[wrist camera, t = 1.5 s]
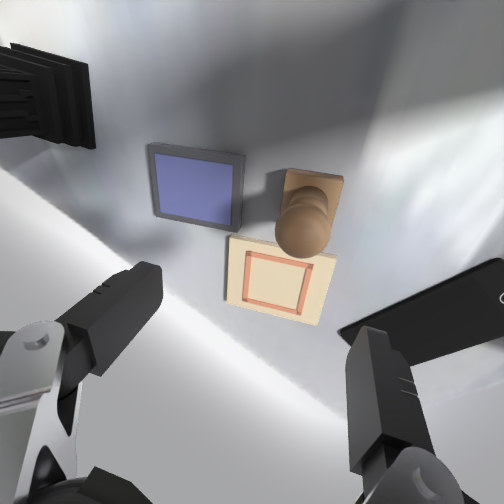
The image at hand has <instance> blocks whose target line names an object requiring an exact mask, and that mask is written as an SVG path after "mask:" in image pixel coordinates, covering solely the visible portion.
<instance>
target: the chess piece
mask: <svg viewBox="0 0 504 504" xmlns="http://www.w3.org/2000/svg"><path fill="white" fill-rule="evenodd" d="M10 45H11V48H7V47H2V46H0V139H2V138H11V137H20V136H29V135H32V136H35V137H38V138H41V139H44V140H47V141H50V142H53V143H57V144H60V143H65V144H68V145H71V146H74V147H77V146H81V147H85V148H88V149H95V148H96V143H95V133H94V122H93V112H92V101H91V91H90V80H89V70H88V64H86V63H83V62H79V61H76V60H72V59H69V58H65V57H62V56H58V55H55V54H51V53H48V52H44V51H41V50H37V49H34V48H30V47H27V46H23V45H20V44H15V43H10Z"/></svg>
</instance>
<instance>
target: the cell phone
mask: <svg viewBox="0 0 504 504" xmlns="http://www.w3.org/2000/svg"><path fill="white" fill-rule="evenodd" d="M363 326H367V327H371V328H374V329H378V330H381V331H385V332H386V333H387V334H388V337H389V341H390V346H391V349H393V350H396V351H400V353H401V354H402V356H403V357H404V359H405V360H406V362H407V363H408V364H409V366H410V367H411V366H414V365H417V364H420V363H423V362H426V361H429V360H432V359H435V358H438V357H441V356H444V355H448V354H451V353H454V352H457V351H460V350H463V349H466V348H469V347H472V346H475V345H478V344H482V343H485V342H488V341H491V340H494V339H497V338H500V337H503V336H504V260H503V259H501V258H495V259H492V260H490V261H488V262H486V263H484V264H482V265H479V266H477V267H475V268H473V269H471V270H469V271H467V272H464V273H462V274H460V275H458V276H456V277H454V278H451V279H449V280H447V281H445V282H443V283H441V284H438V285H436V286H434V287H432V288H430V289H428V290H425V291H423V292H421V293H419V294H417V295H415V296H412V297H410V298H408V299H406V300H404V301H402V302H400V303H397V304H395V305H393V306H391V307H389V308H387V309H384V310H382V311H380V312H378V313H376V314H374V315H371V316H369V317H367V318H365V319H363V320H361V321H358V322H356V323H354V324H352V325H350V326H348V327H346V328H343V329H342V330H341V336H342V337H343V338H344V339H345V340H346V341H347V342H348V343H349V344H350V345H351V346H352V345H353V343H354V341H355V339H356V337H357V335H358V333H359V331H360V329H361V328H362V327H363Z"/></svg>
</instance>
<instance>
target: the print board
mask: <svg viewBox="0 0 504 504" xmlns="http://www.w3.org/2000/svg"><path fill="white" fill-rule="evenodd" d="M336 260H337V256H336V255H331V254H326V253H321V252H320V253H319V254H318V255H316V256H314V257H311V258H306V259H299V258H294V257H291V256H289V255H288V254H286V253H285V252H284V251H283V250H282V249H281V248H280V247H279V245H278V244H277V243H272V242H267V241H262V240H257V239H252V238H247V237H242V236H237V235H231V236H230V240H229V263H228V286H227V303H228V304H232V305H236V306H239V307H243V308H247V309H251V310H255V311H259V312H263V313H267V314H271V315H275V316H279V317H283V318H287V319H291V320H295V321H299V322H303V323H307V324H311V325H315V326H317V324H318V321H319V317H320V314H321V311H322V307H323V304H324V301H325V297H326V294H327V291H328V287H329V284H330V280H331V277H332V274H333V270H334V267H335V264H336Z"/></svg>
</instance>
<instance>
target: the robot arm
mask: <svg viewBox="0 0 504 504" xmlns="http://www.w3.org/2000/svg"><path fill="white" fill-rule="evenodd" d="M162 299H163V282H162V269H161V267H160V266H158V265H154V264H151V263H147V262H144V261H141V262H139V263H138V264H136V265H135V266H134V267H133V268H132V269H130V270H124V271H121V272H119V273H117V274H114V275H112V276H111V277H110V278H109V279H107V280H106V281H105V282H103V283H102V285H101V286H98V287H97V288H96V289H94V290H93V292H92V293H89V294H88V295H87V296H86V297H84V298H83V299H82V300H80V301H79V302H78V303H77V304H75V305H74V306H73V307H72V308H70V309H69V310H68V311H67V312H65V313H64V314H63V315H61V316H60V317H59V318H58V319H56V320H55V321H40V322H36V323H32V324H30V325H27V326H25V327H23V328H21V329H20V330H18V331H17V332H13V331H0V504H152V502H150V500H148V498H147V497H146V496H145V495H144V494H143V493H142V492H141V491H139V490H138V489H137V488H136V487H135V486H134V485H133V484H132V483H131V482H130V481H127V480H125V479H123V478H121V477H118V476H116V475H114V474H111V473H109V472H107V471H105V470H102V469H100V468H97V467H94V468H93V470H92V471H91V473H90V474H89V476H88V477H83V478H76V475H77V455H76V433H77V425H78V418H79V410H80V402H81V394H82V386H83V382H82V380H83V379H84V378H85V376H86V375H87V374H88V373H92V374H94V375H97V376H100V377H101V376H102V374H104V372H105V371H106V370H107V369H108V368H109V366H110V365H111V364H112V363H113V362H114V360H115V359H116V358H117V357H118V356H119V355H120V353H121V352H122V351H123V350H124V349H125V348H126V346H127V345H128V344H129V343H130V341H131V340H132V339H133V338H134V337H135V336H136V334H137V333H138V332H139V331H140V330H141V329H142V327H143V326H144V325H145V324H146V323H147V321H148V320H149V319H150V318H151V317H152V316H153V314H154V313H155V312H156V311H157V310H158V308H159V307H160V305H161V302H162ZM345 372H346V394H347V417H348V438H349V439H348V440H349V463H350V472H353V473H356V474H358V475H361V476H363V489H364V490H363V491H362V492H361V493H360V494H359V496H358V497H357V499H356V500H355V502H354V503H353V504H479V503H478V502H476V501H475V500H474V499H472V498H471V497H469V496H468V495H467V494H465V493H464V492H463V491H462V490H461V489H460V487H459V484H458V483H457V481H456V479H455V477H454V476H453V475H452V473H451V472H450V471H449V469H448V468H447V467H446V466H445V465H444V464H443V463H442V462H441V460H439V459H438V458H437V457H436V455H435V452H434V449H433V446H432V442H431V439H430V435H429V432H428V428H427V425H426V421H425V418H424V414H423V411H422V407H421V404H420V400H419V398H418V397H417V395H418V393H417V390H416V386H415V385H414V379H413V376H412V372H411V369H410V366H409V364H408V363H407V362H406V360H405V359H404V357H403V356H402V354H401V353H400V351H396V350H393V349H391V346H390V341H389V337H388V334H387V333H386V332H385V331H381V330H378V329H374V328H371V327H367V326H363V327H362V328H361V329H360V331H359V333H358V335H357V337H356V339H355V341H354V343H353V345H352V347H351V349H350V351H349V353H348V356H347V359H346V367H345Z"/></svg>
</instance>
